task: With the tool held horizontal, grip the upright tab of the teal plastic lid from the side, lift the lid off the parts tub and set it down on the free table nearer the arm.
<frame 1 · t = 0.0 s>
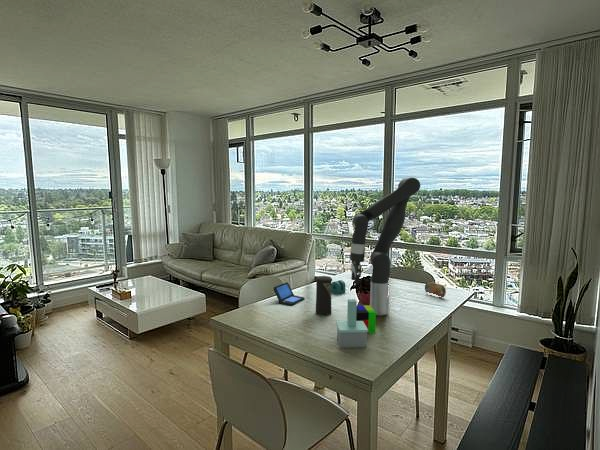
hand: (354, 281, 183), 17 cm above the table, tool pointing down, fingers open, 8 cm apart
lid: (351, 327, 147), point 7 cm above the table, touching tub
puzzle toy: (361, 329, 163), on the table
handheld game console: (289, 301, 205), on the table
tub: (351, 343, 147), on the table
teal rounded piece: (331, 291, 226), on the table
container: (323, 313, 184), on the table
wooden scrub brush: (434, 296, 216), on the table
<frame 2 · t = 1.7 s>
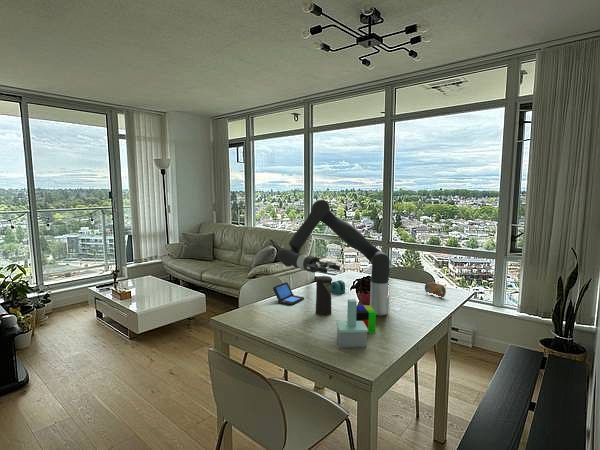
hand: (333, 269, 153), 30 cm above the table, tool horizontal, fingers open, 8 cm apart
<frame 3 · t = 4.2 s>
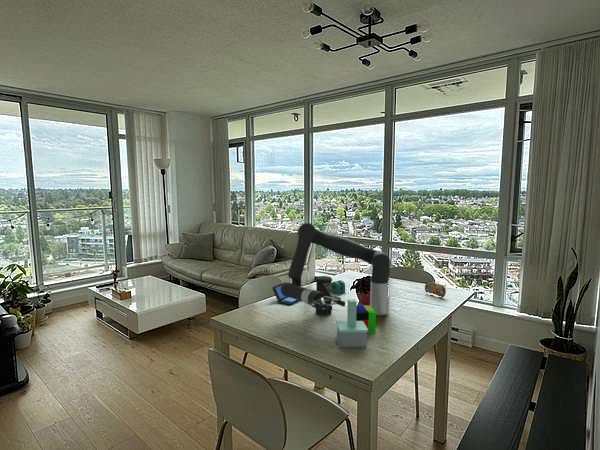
hand: (338, 306, 152), 14 cm above the table, tool horizontal, fingers open, 8 cm apart
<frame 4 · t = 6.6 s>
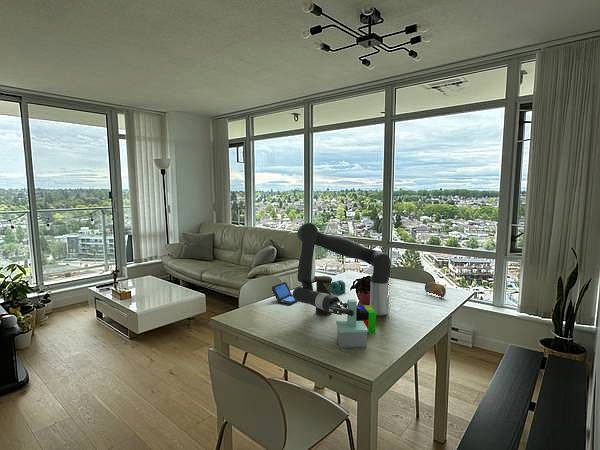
hand: (356, 312, 144), 15 cm above the table, tool horizontal, fingers closed on lid, 4 cm apart
lid: (351, 327, 147), point 7 cm above the table, touching gripper, tub
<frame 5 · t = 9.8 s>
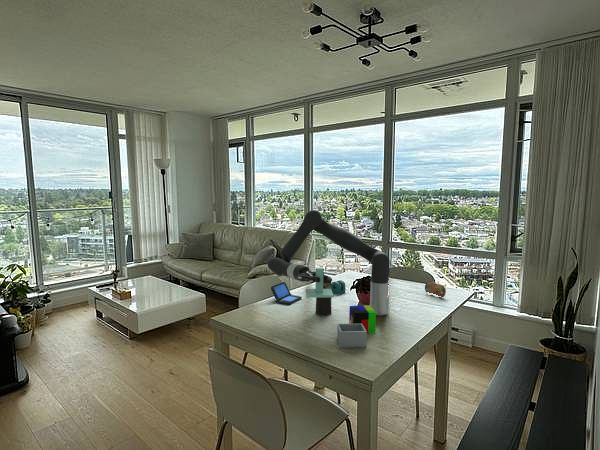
hand: (323, 279, 153), 26 cm above the table, tool horizontal, fingers closed on lid, 4 cm apart
lid: (319, 294, 156), point 18 cm above the table, touching gripper
when the fingers open (9 cm above the table, at t = 13.2 s): lid drops 2 cm, on the table.
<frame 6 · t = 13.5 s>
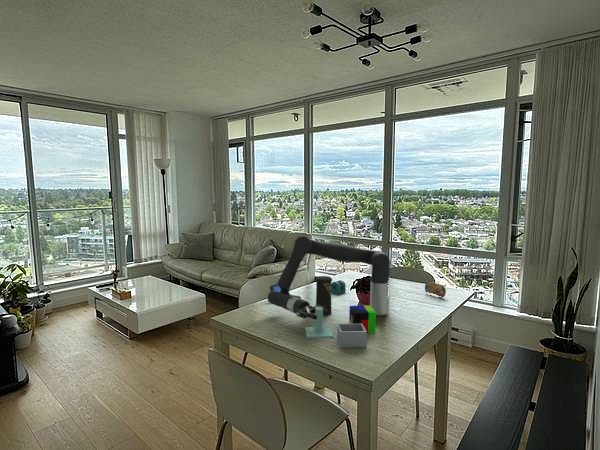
hand: (322, 315, 155), 9 cm above the table, tool horizontal, fingers open, 7 cm apart
lid: (318, 333, 158), on the table
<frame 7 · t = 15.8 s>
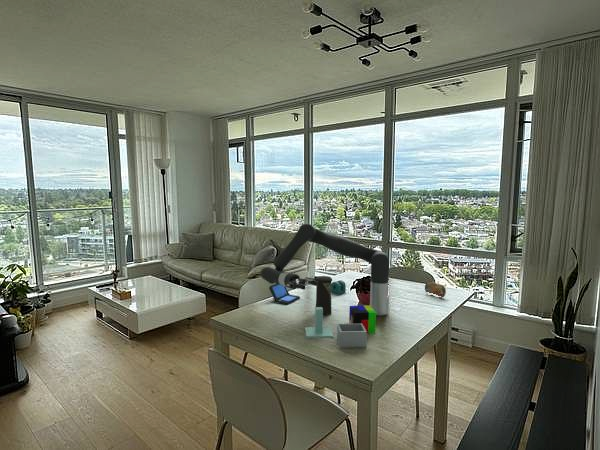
hand: (311, 285, 164), 20 cm above the table, tool horizontal, fingers open, 8 cm apart
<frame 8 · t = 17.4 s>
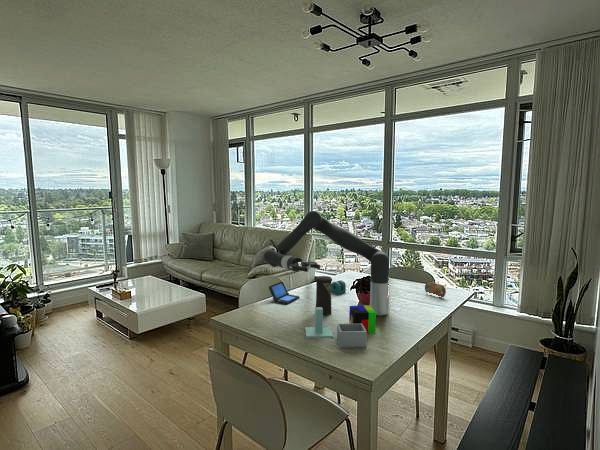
hand: (313, 268, 166), 28 cm above the table, tool horizontal, fingers open, 8 cm apart
at the end: lid inside the target area (0.1 cm from its centre), on the table; lid tilted 0°; the gripper is holding nothing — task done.
